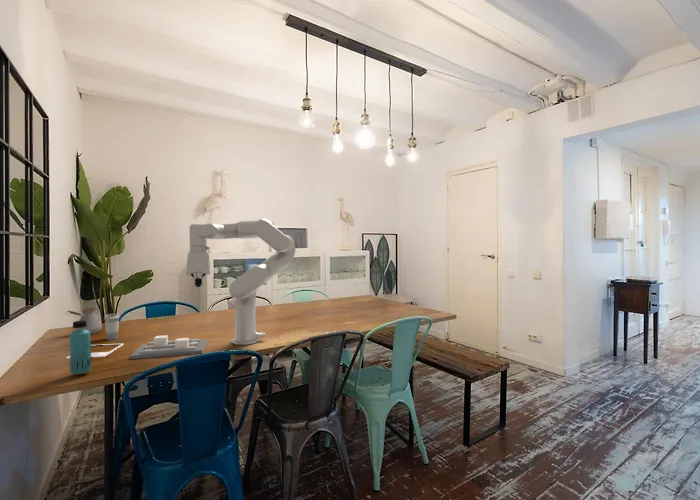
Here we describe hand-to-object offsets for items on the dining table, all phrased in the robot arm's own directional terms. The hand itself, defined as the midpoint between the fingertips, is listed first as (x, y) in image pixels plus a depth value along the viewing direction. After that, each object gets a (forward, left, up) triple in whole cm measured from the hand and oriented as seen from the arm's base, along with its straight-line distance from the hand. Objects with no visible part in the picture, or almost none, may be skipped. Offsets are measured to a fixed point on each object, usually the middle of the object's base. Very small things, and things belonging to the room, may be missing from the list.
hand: (198, 286), depth 171 cm
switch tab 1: (+15, +8, -25) cm, 31 cm away
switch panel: (+10, +12, -27) cm, 31 cm away
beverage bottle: (+36, +34, -27) cm, 57 cm away
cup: (+43, -17, -27) cm, 54 cm away
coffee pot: (+60, -28, -27) cm, 72 cm away
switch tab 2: (+5, +15, -25) cm, 30 cm away
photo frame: (+42, +4, -28) cm, 51 cm away
